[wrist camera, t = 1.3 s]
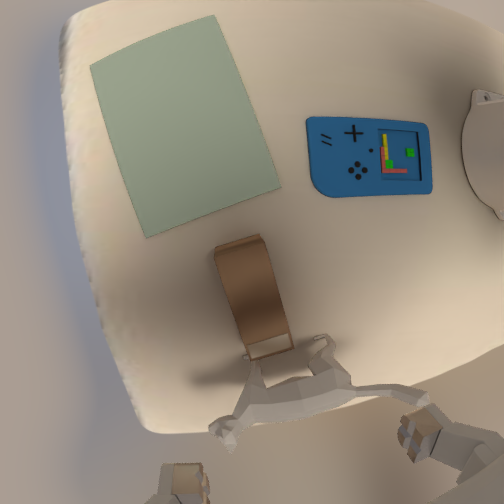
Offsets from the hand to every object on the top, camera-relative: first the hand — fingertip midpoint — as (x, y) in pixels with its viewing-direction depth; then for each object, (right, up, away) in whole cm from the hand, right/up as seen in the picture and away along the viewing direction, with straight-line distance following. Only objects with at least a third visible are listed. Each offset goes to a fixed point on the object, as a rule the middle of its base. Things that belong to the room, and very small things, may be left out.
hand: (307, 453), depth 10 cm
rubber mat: (-9, +21, +17) cm, 29 cm away
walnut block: (-2, +4, +22) cm, 22 cm away
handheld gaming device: (+11, +18, +20) cm, 29 cm away
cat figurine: (+3, -4, +24) cm, 25 cm away
